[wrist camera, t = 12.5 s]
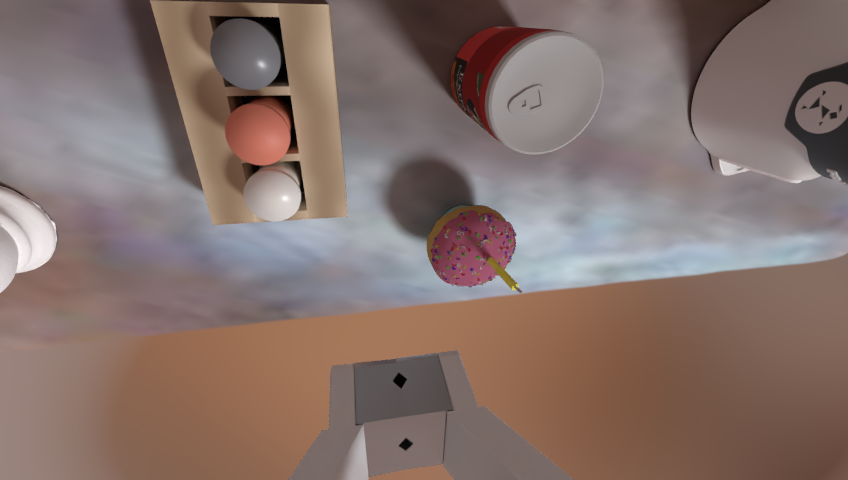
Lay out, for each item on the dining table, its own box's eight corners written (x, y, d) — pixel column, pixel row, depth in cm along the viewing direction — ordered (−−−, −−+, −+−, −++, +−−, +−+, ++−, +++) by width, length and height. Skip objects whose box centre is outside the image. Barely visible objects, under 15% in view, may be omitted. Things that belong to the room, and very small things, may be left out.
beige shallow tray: (329, 5, 30) (328, 4, 27) (346, 198, 38) (347, 216, 35) (172, 1, 28) (149, 0, 25) (225, 204, 36) (213, 225, 33)
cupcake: (501, 186, 40) (555, 244, 30) (494, 255, 45) (540, 328, 34) (418, 193, 39) (446, 256, 29) (420, 264, 43) (444, 341, 33)
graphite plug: (284, 18, 30) (273, 19, 25) (293, 77, 32) (284, 89, 27) (225, 17, 29) (202, 18, 24) (237, 78, 31) (219, 90, 26)
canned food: (431, 62, 33) (466, 82, 24) (513, 3, 32) (583, 0, 23) (473, 136, 37) (517, 177, 28) (547, 86, 36) (619, 112, 27)
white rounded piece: (302, 148, 35) (296, 170, 30) (308, 192, 37) (304, 219, 32) (252, 150, 34) (237, 172, 29) (261, 195, 36) (249, 223, 31)
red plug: (293, 90, 31) (284, 104, 27) (300, 142, 33) (293, 164, 29) (237, 90, 31) (218, 105, 26) (248, 144, 33) (232, 166, 28)
